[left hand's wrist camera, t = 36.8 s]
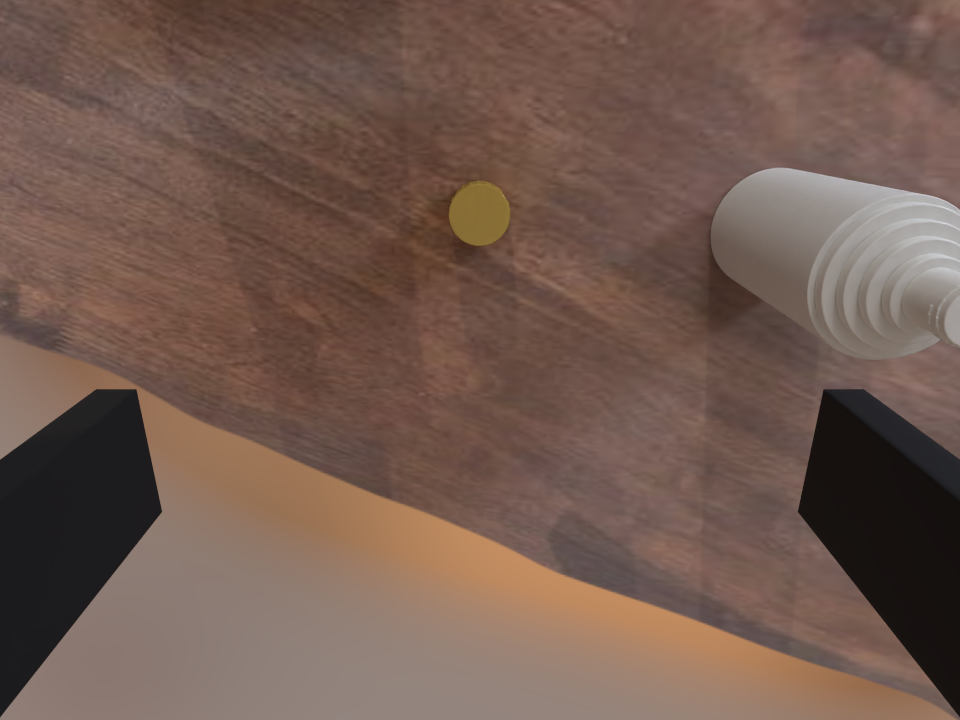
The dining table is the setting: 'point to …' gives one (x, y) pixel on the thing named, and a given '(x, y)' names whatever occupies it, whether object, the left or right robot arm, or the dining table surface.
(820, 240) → the bottle
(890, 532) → the left robot arm
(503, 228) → the cap
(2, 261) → the dining table surface
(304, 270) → the dining table surface
